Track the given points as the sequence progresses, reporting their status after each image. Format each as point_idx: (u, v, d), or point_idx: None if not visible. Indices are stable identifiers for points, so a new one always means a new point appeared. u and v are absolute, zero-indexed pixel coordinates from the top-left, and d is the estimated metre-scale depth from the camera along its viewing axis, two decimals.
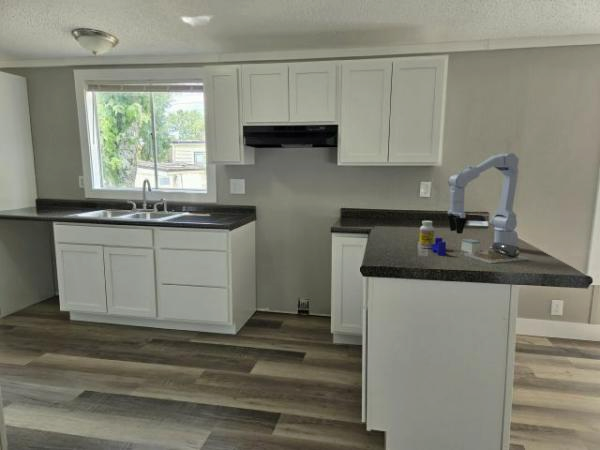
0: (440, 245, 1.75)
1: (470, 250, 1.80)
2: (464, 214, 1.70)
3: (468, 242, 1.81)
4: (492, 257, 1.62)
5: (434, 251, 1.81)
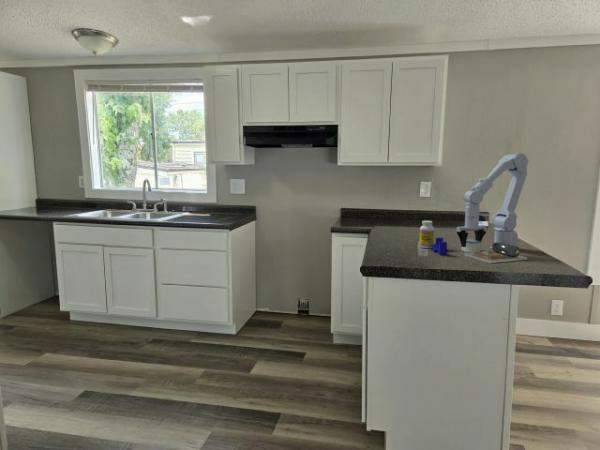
0: (441, 245, 1.75)
1: (470, 250, 1.80)
2: (458, 228, 1.79)
3: (468, 242, 1.81)
4: (492, 257, 1.62)
5: (435, 251, 1.81)
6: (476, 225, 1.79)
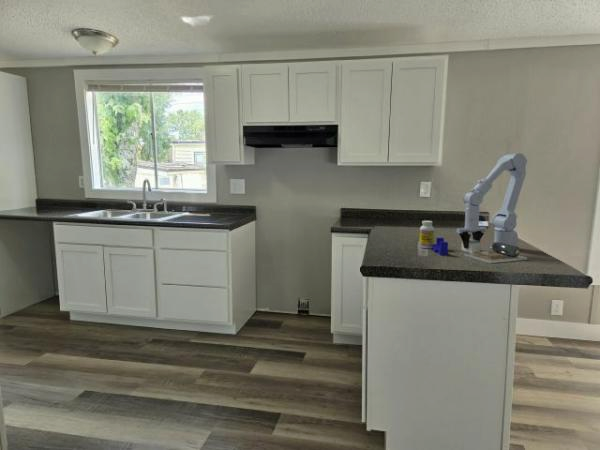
0: (442, 245, 1.75)
1: (470, 250, 1.80)
2: (458, 230, 1.80)
3: None
4: (492, 257, 1.62)
5: (436, 251, 1.81)
6: (476, 227, 1.79)
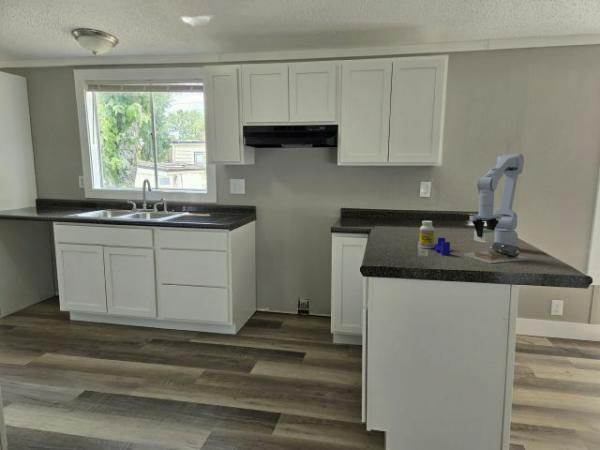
0: (444, 245, 1.74)
1: (483, 240, 1.69)
2: (472, 217, 1.68)
3: None
4: (492, 257, 1.62)
5: (437, 251, 1.81)
6: (491, 214, 1.68)
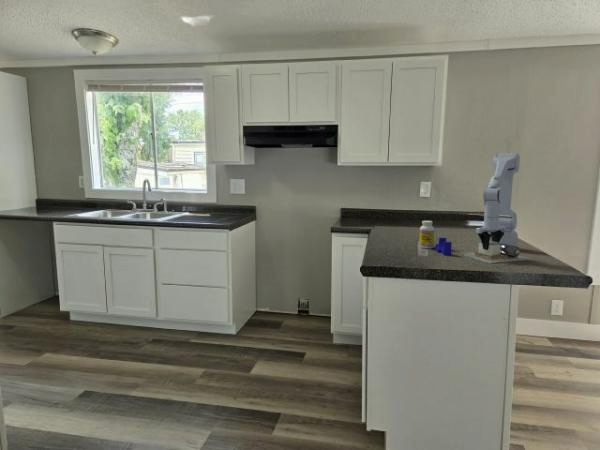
0: (446, 245, 1.74)
1: (490, 252, 1.65)
2: (478, 229, 1.64)
3: None
4: (492, 257, 1.62)
5: (439, 251, 1.81)
6: (497, 226, 1.64)
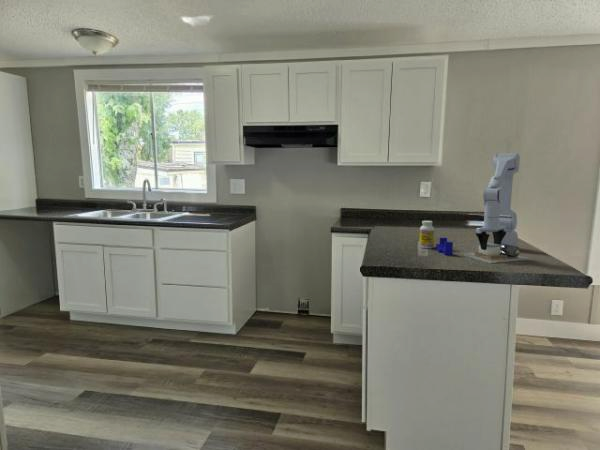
0: (447, 245, 1.74)
1: (489, 254, 1.65)
2: (478, 229, 1.64)
3: (487, 246, 1.66)
4: (492, 257, 1.62)
5: (440, 251, 1.81)
6: (497, 226, 1.64)
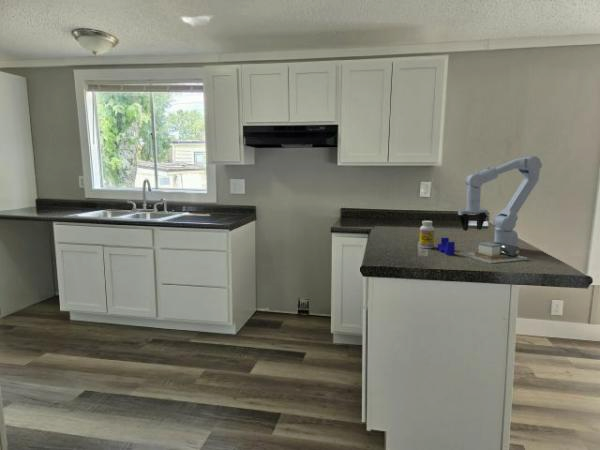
0: (449, 245, 1.74)
1: (489, 254, 1.65)
2: (460, 211, 1.81)
3: (487, 246, 1.66)
4: (492, 257, 1.62)
5: (441, 251, 1.81)
6: (477, 208, 1.81)
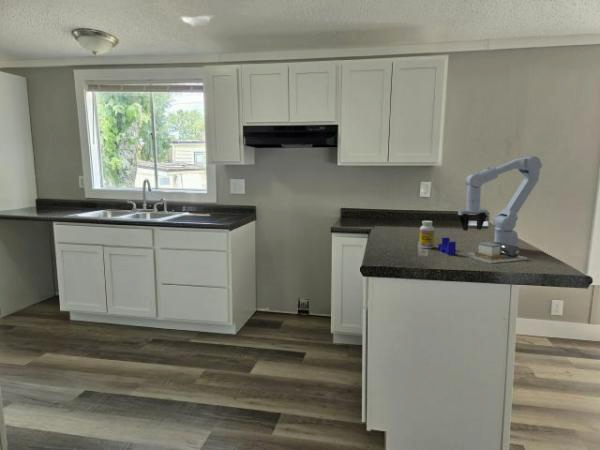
0: (450, 245, 1.74)
1: (489, 254, 1.65)
2: (460, 211, 1.81)
3: (487, 246, 1.66)
4: (492, 257, 1.62)
5: (442, 251, 1.81)
6: (477, 208, 1.81)
